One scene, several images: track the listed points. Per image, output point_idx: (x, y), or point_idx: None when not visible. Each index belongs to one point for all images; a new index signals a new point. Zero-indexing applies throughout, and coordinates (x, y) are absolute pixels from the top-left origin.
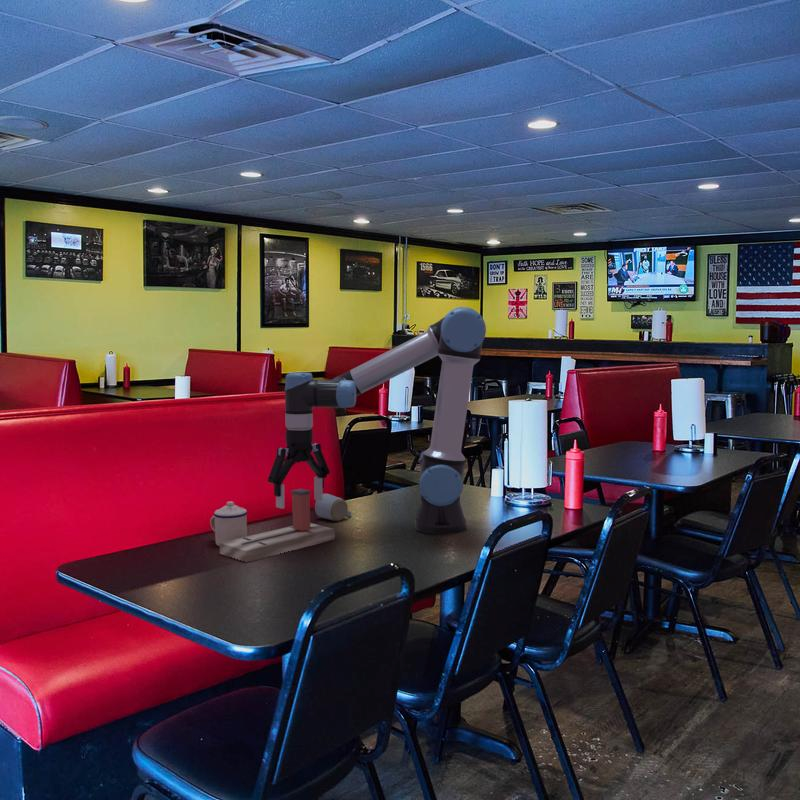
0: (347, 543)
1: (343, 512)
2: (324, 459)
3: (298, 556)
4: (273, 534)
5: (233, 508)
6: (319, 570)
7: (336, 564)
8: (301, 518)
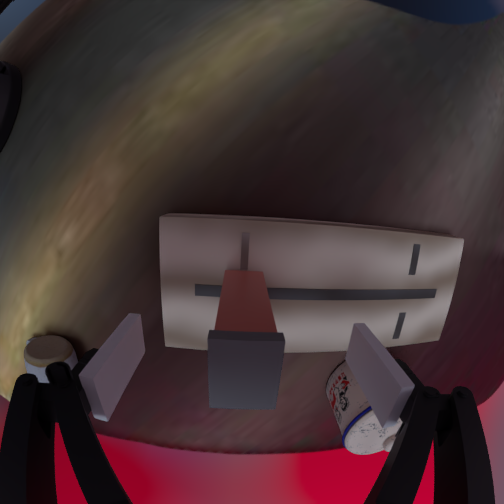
0: (176, 150)
1: (43, 341)
2: (2, 450)
3: (361, 166)
4: (332, 316)
5: (401, 422)
6: (395, 57)
7: (343, 46)
8: (266, 288)
